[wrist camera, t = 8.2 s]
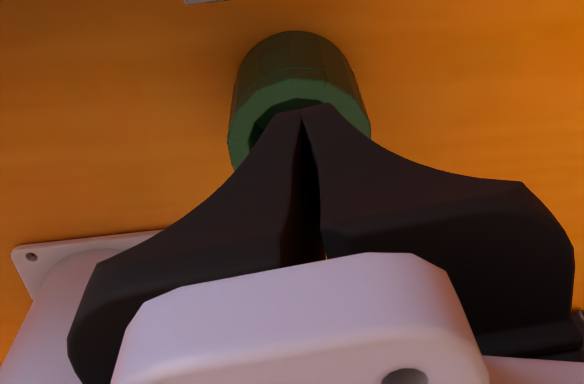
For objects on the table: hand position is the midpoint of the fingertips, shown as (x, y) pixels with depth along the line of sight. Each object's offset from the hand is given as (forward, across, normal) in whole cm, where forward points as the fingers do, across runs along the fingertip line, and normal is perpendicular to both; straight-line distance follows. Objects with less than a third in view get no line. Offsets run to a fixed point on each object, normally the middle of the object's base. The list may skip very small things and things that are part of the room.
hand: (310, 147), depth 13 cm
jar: (+10, 0, +3) cm, 10 cm away
